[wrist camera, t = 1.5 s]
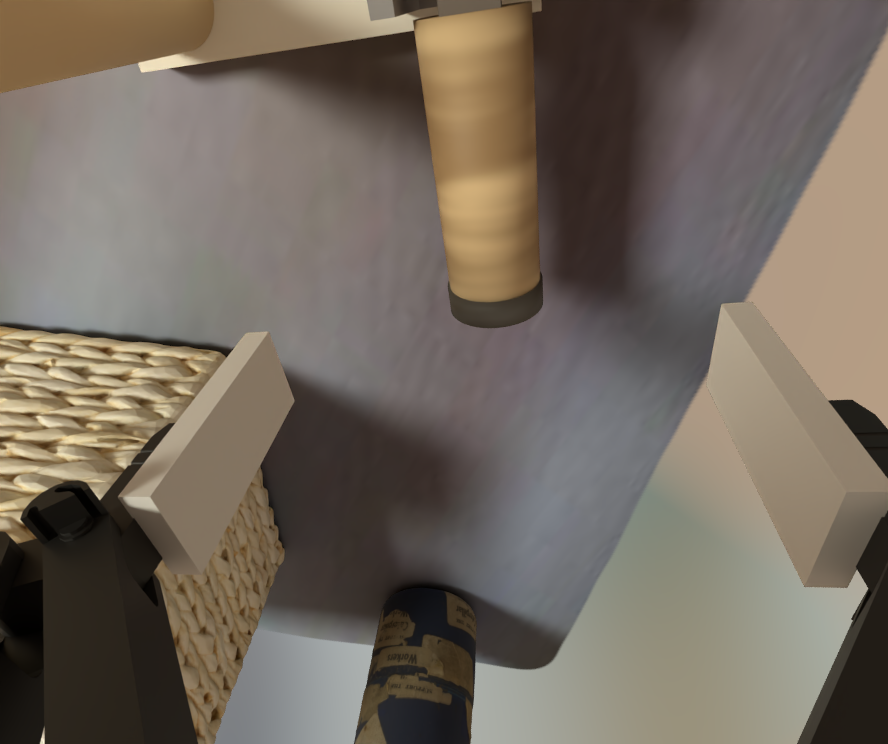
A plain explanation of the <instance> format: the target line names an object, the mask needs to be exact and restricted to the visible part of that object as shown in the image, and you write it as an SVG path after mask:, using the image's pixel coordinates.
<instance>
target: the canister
mask: <svg viewBox="0 0 888 744" xmlns="http://www.w3.org/2000/svg"><path fill="white" fill-rule="evenodd" d="M476 627H477V623H476V617H475V615H474V612H473V611H472V609H471V608H470V606H469V605H468V604H467V603H466V602H465V601H464V600H463V599H461V598H459V597H458V596H455V595H453V594H451V593H449V592H446V591H442V590H437V589H431V588H414V589H407V590H403V591H401V592H398V593H396V594H394V595H393V596H391V597H390V598H389V599H388V600H387V601H386V603H385V604H384V606H383V608H382V611H381V616H380V620H379V625H378V630H377V635H376V640H375V645H374V649H373V654H372V660H371V665H370V669H369V674H368V680H367V685H366V689H365V691H364V695H363V700H362V706H361V711H360V716H359V721H358V726H357V730H356V737H355V742H354V744H470V741H471V723H472V709H473V701H474V683H475V649H476Z"/></svg>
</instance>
